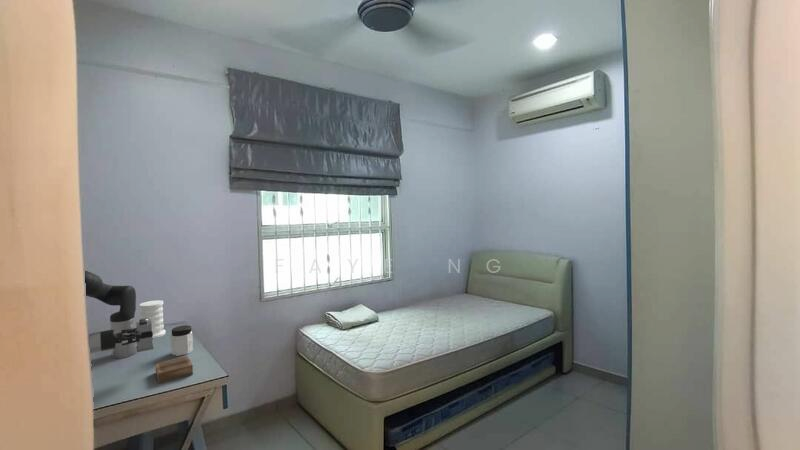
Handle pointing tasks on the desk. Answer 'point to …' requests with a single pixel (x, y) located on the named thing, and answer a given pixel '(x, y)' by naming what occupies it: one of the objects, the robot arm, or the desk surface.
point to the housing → (142, 328)
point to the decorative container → (154, 316)
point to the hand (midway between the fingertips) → (151, 332)
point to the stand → (173, 369)
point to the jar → (181, 340)
